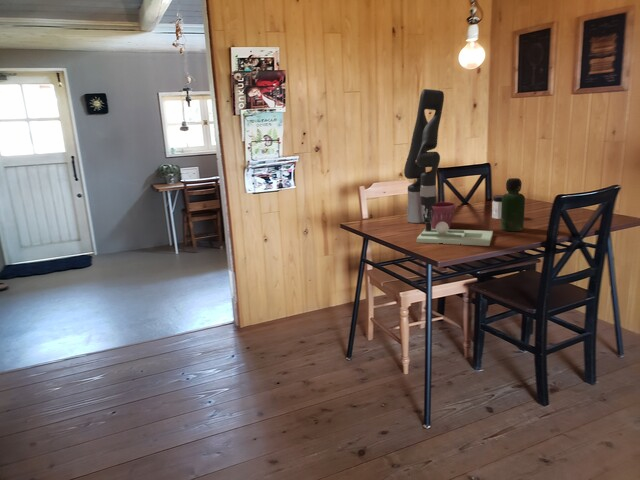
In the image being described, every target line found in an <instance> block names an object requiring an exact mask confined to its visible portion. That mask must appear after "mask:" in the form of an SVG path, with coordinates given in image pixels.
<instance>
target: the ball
mask: <svg viewBox="0 0 640 480" xmlns="http://www.w3.org/2000/svg"><path fill="white" fill-rule="evenodd" d="M448 229H449V226H448V224H447V223H445V222H439V223H438V224H437V225H436V231H437V232H438V233H439V234H445V233H447V232H448ZM449 230H450V229H449Z"/></svg>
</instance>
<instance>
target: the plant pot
mask: <svg viewBox="0 0 640 480" xmlns="http://www.w3.org/2000/svg"><path fill="white" fill-rule="evenodd" d="M432 208H433V209H434V211H433V220H432V222H431V229H436V225H437V224H438V223H439V222H445V223H447V224H448V226H449V230H451V227H452V221H453V217H454V213H455V212H456V204H455V202H449V201H441V202H439V201H438V202H437V204H436V205H433V206H432Z"/></svg>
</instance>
